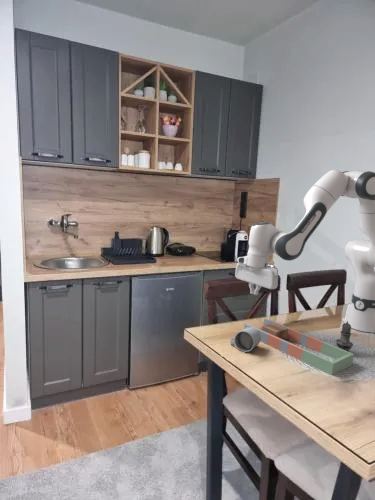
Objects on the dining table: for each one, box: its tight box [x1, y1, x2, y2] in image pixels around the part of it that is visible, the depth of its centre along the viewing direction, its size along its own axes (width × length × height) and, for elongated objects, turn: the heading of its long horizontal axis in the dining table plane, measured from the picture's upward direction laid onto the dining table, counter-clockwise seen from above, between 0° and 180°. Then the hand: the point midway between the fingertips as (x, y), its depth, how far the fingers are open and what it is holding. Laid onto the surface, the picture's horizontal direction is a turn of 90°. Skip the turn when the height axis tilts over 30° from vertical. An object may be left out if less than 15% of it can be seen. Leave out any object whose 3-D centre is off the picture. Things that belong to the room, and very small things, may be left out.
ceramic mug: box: [229, 326, 261, 353], centre depth 126 cm, size 11×8×8 cm
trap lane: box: [243, 318, 355, 376], centre depth 129 cm, size 13×38×4 cm, turn 38°
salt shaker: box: [335, 321, 354, 352], centre depth 127 cm, size 6×6×12 cm
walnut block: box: [261, 323, 288, 342], centre depth 136 cm, size 7×7×5 cm
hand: (254, 294), depth 143 cm, fingers closed
